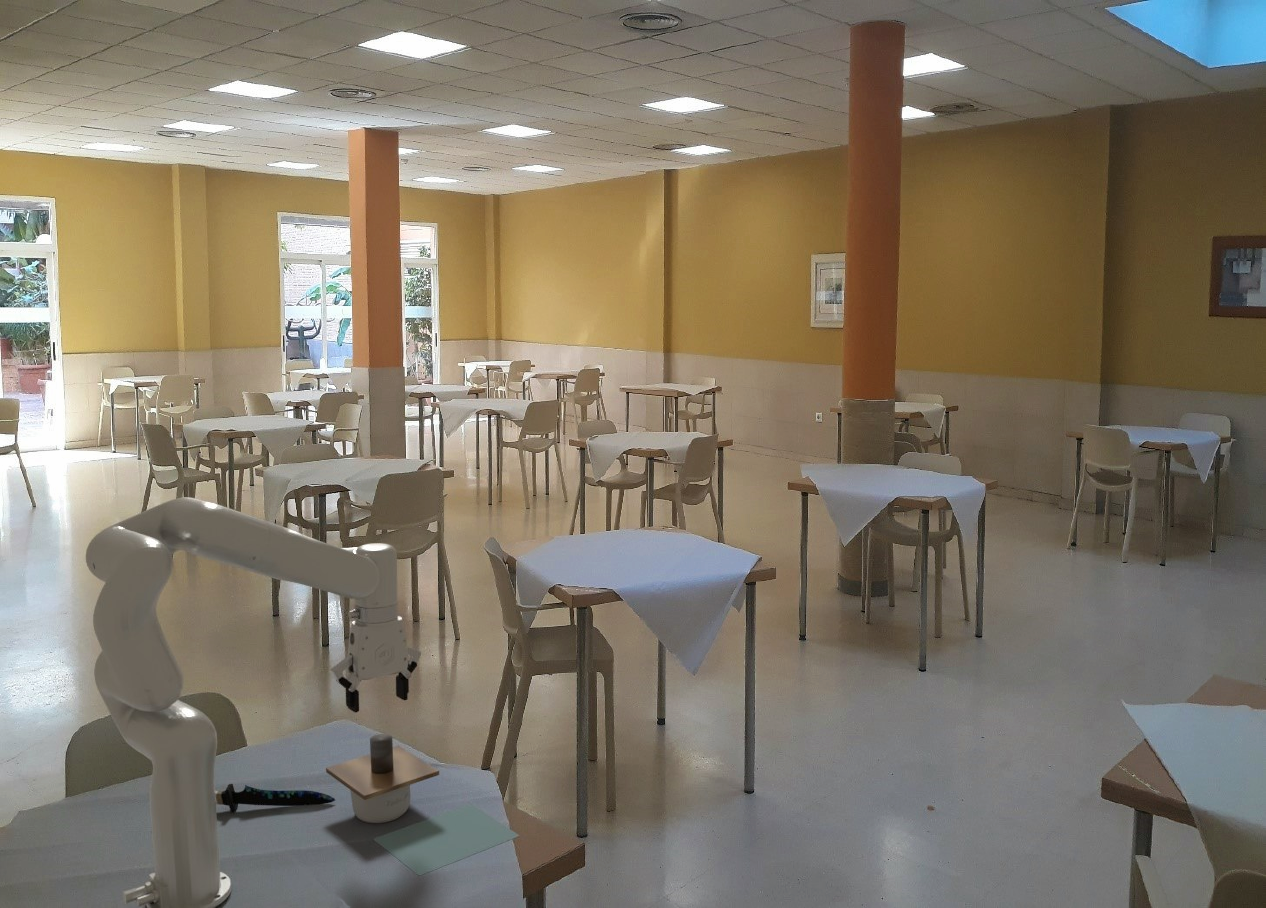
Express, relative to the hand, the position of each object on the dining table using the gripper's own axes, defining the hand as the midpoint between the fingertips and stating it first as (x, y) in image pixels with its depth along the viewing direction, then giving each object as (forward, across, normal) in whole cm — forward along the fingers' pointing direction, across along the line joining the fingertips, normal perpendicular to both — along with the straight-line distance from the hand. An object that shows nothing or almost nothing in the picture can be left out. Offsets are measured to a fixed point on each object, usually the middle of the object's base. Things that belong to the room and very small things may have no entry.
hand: (378, 704), depth 195 cm
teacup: (+22, +1, 0) cm, 22 cm away
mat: (+21, +4, -17) cm, 27 cm away
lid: (+13, +1, 0) cm, 13 cm away
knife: (+22, -17, +18) cm, 33 cm away
